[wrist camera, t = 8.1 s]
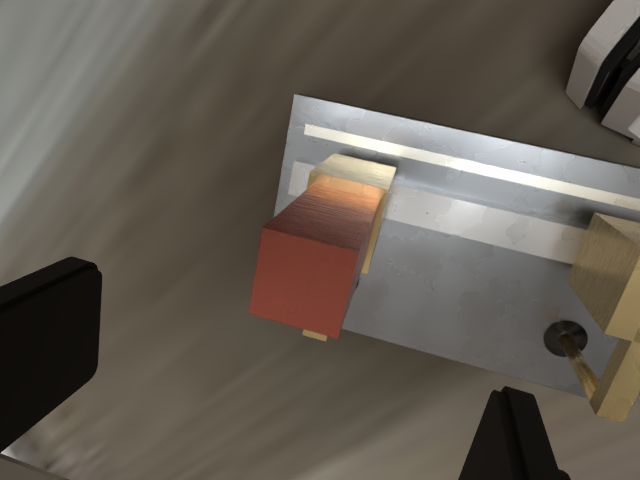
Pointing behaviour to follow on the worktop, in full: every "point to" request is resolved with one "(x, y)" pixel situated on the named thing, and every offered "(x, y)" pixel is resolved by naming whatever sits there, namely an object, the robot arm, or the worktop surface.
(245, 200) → the worktop surface
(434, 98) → the worktop surface
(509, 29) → the worktop surface
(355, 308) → the gauge plate
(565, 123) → the worktop surface
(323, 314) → the block
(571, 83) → the grey stapler
